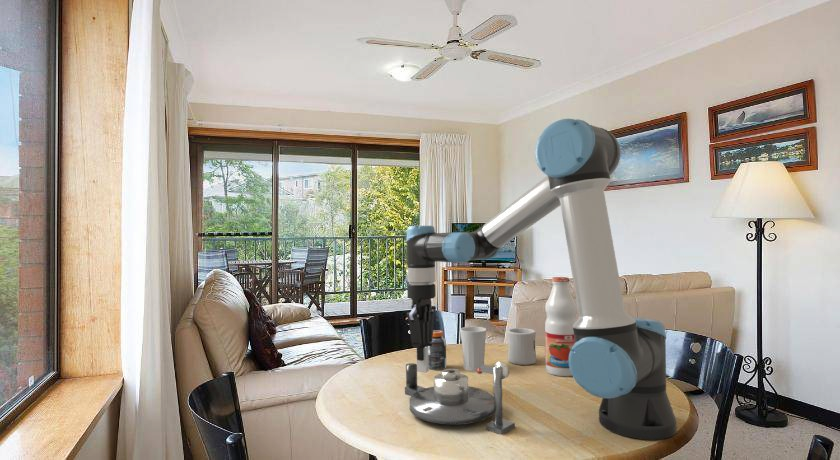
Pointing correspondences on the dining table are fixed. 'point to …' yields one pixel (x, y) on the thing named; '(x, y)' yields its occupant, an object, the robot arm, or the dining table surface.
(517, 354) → the mug
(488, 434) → the dining table surface
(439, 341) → the pill bottle
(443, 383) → the cover
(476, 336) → the cup
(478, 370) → the indicator
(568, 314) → the fruit juice
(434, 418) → the turntable
